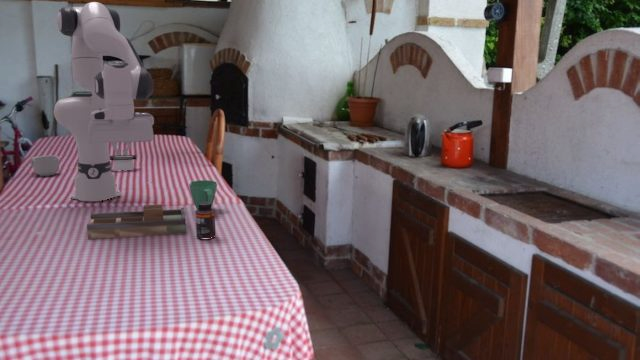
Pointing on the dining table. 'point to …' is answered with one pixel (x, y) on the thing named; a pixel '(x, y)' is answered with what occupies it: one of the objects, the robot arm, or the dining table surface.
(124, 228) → the wooden compartment tray
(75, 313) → the dining table surface
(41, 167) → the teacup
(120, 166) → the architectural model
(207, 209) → the supplement bottle
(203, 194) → the mug
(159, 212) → the block
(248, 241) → the dining table surface
